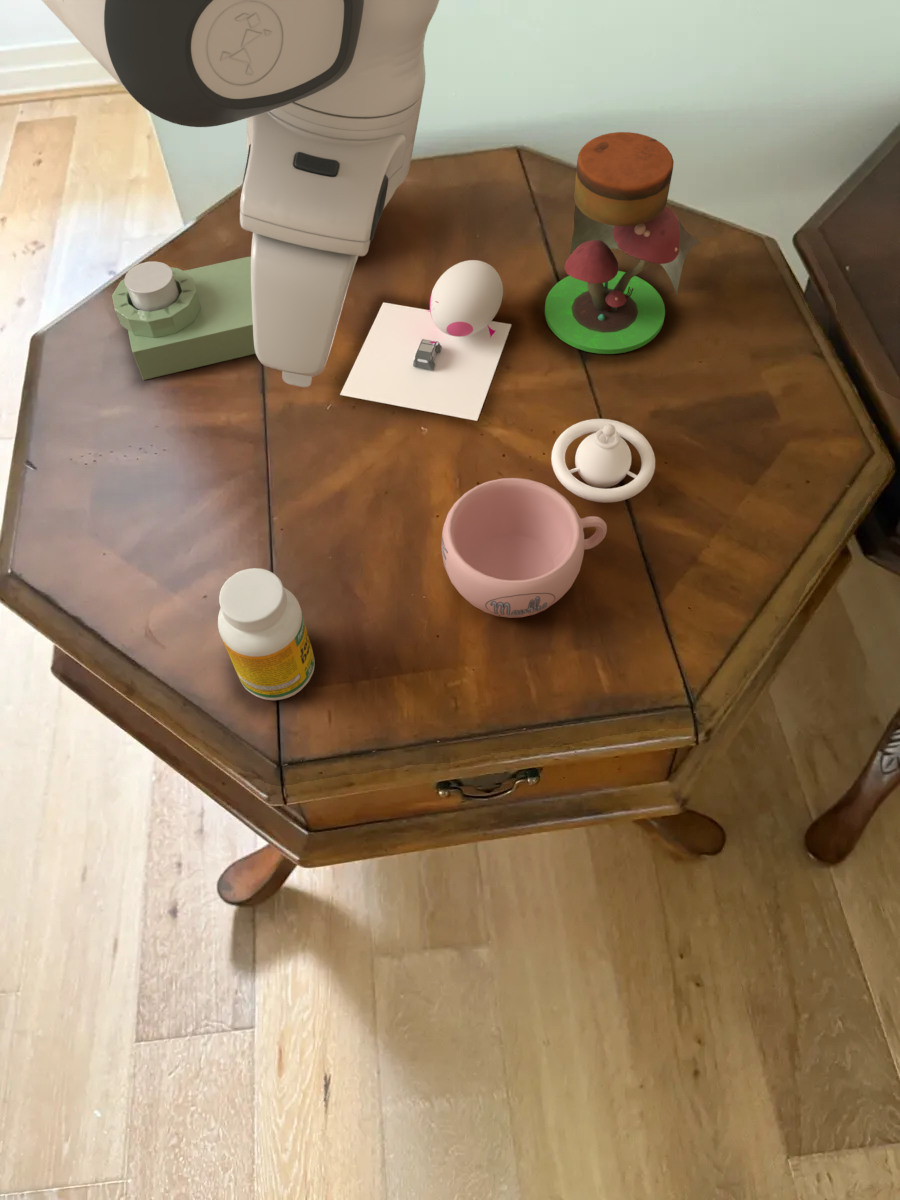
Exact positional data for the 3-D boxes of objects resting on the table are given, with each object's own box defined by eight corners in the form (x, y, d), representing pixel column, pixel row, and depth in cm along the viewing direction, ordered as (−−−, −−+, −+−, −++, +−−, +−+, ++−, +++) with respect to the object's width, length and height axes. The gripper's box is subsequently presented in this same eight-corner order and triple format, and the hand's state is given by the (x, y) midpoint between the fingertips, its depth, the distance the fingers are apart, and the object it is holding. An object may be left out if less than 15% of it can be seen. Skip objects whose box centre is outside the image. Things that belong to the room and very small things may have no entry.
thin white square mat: (511, 324, 86) (512, 310, 85) (477, 420, 80) (477, 407, 78) (383, 302, 88) (381, 288, 87) (339, 394, 82) (337, 381, 80)
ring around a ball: (619, 423, 79) (531, 455, 77) (630, 373, 74) (536, 406, 73) (670, 494, 75) (579, 529, 74) (684, 446, 70) (587, 483, 69)
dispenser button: (135, 316, 81) (127, 297, 79) (128, 287, 83) (121, 267, 81) (182, 306, 81) (176, 286, 80) (175, 276, 83) (168, 256, 82)
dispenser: (137, 381, 83) (119, 336, 79) (124, 314, 88) (106, 268, 84) (279, 348, 85) (269, 302, 81) (258, 284, 90) (248, 238, 86)
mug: (461, 648, 68) (460, 603, 63) (429, 539, 73) (425, 488, 68) (624, 611, 69) (635, 564, 64) (580, 506, 75) (587, 455, 70)
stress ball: (465, 322, 90) (428, 261, 87) (533, 302, 85) (496, 236, 82) (428, 372, 87) (387, 309, 83) (496, 354, 81) (456, 286, 78)
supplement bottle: (233, 647, 68) (200, 569, 60) (307, 627, 69) (284, 548, 61) (246, 712, 66) (214, 640, 58) (323, 691, 66) (302, 617, 58)
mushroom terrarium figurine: (661, 376, 82) (695, 221, 69) (521, 340, 85) (529, 185, 72) (695, 289, 88) (732, 132, 75) (563, 258, 91) (577, 102, 78)
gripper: (306, 16, 57) (291, 222, 68) (231, 221, 45) (228, 429, 56) (412, 43, 57) (379, 242, 69) (365, 251, 46) (335, 450, 57)
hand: (310, 328), depth 62 cm, fingers open, 8 cm apart
